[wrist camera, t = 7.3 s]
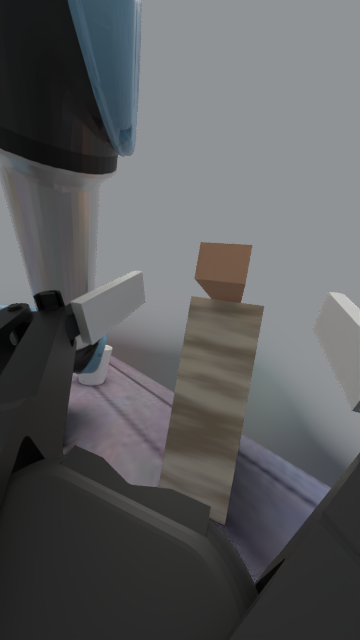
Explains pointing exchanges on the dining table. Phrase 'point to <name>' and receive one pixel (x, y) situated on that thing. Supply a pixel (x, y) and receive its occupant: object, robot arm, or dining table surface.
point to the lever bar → (223, 270)
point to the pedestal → (211, 401)
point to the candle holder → (100, 373)
